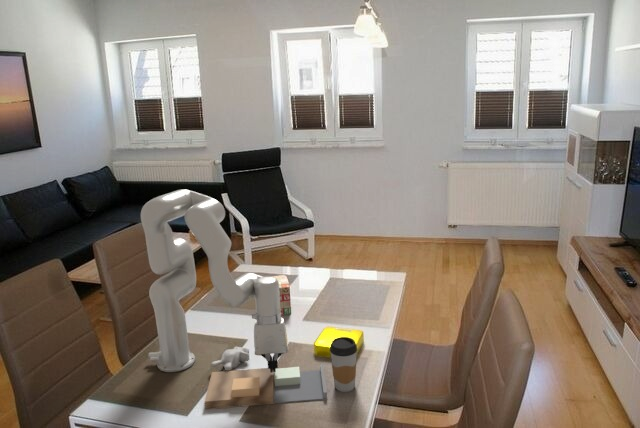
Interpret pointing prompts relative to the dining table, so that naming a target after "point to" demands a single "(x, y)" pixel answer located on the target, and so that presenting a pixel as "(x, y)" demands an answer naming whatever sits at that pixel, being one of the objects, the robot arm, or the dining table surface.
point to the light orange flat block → (246, 387)
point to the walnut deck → (222, 389)
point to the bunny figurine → (232, 358)
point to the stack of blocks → (284, 294)
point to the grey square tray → (303, 388)
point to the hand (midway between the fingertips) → (273, 369)
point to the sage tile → (287, 376)
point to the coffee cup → (343, 363)
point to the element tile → (332, 333)
